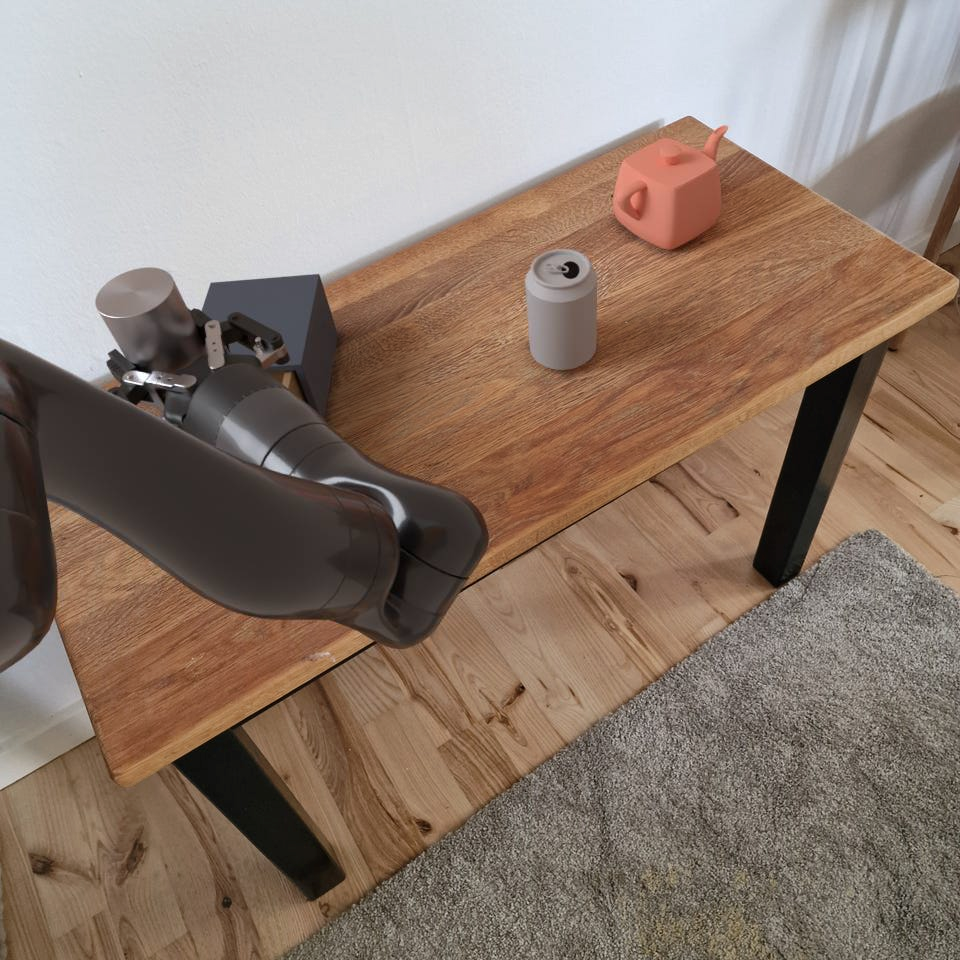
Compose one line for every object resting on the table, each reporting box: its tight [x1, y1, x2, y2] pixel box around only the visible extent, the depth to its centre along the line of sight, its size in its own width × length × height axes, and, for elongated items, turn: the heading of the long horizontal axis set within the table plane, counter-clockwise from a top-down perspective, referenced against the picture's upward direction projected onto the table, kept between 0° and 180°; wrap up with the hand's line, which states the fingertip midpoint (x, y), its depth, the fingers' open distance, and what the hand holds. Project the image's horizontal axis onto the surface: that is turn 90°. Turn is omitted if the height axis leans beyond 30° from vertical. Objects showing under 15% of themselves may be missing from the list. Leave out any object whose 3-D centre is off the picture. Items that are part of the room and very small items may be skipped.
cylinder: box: [94, 266, 208, 418], centre depth 69 cm, size 6×6×17 cm
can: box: [524, 248, 598, 371], centre depth 89 cm, size 8×8×12 cm
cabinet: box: [201, 273, 339, 420], centre depth 92 cm, size 15×13×9 cm
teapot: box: [612, 124, 729, 251], centre depth 103 cm, size 12×18×10 cm, turn 126°
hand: (151, 338), depth 68 cm, fingers closed on cylinder, 6 cm apart
